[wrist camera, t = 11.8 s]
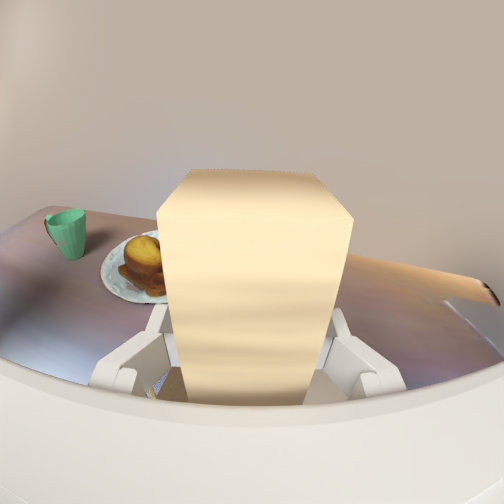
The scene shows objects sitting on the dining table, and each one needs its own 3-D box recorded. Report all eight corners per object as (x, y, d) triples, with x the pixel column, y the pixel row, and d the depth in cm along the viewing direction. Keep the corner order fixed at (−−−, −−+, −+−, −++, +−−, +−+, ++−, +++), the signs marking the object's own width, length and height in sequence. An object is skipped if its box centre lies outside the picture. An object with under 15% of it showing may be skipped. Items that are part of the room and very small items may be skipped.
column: (283, 451, 11) (353, 219, 6) (202, 449, 11) (156, 212, 5) (278, 390, 15) (313, 173, 9) (208, 388, 15) (192, 169, 9)
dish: (313, 475, 22) (316, 471, 22) (232, 406, 30) (232, 401, 30) (375, 404, 30) (379, 398, 29) (302, 354, 38) (304, 348, 38)
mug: (100, 248, 61) (93, 210, 56) (74, 269, 53) (63, 228, 48) (65, 240, 64) (57, 205, 59) (40, 257, 56) (30, 221, 51)
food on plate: (241, 255, 63) (242, 228, 59) (180, 328, 42) (175, 296, 39) (150, 233, 70) (148, 209, 67) (80, 283, 50) (71, 255, 46)
